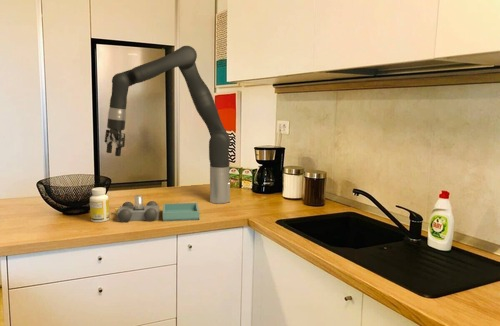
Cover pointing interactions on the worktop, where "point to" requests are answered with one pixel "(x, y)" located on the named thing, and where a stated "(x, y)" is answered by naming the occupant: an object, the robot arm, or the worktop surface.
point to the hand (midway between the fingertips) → (113, 154)
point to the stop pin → (138, 202)
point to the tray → (180, 212)
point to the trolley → (137, 212)
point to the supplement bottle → (99, 205)
